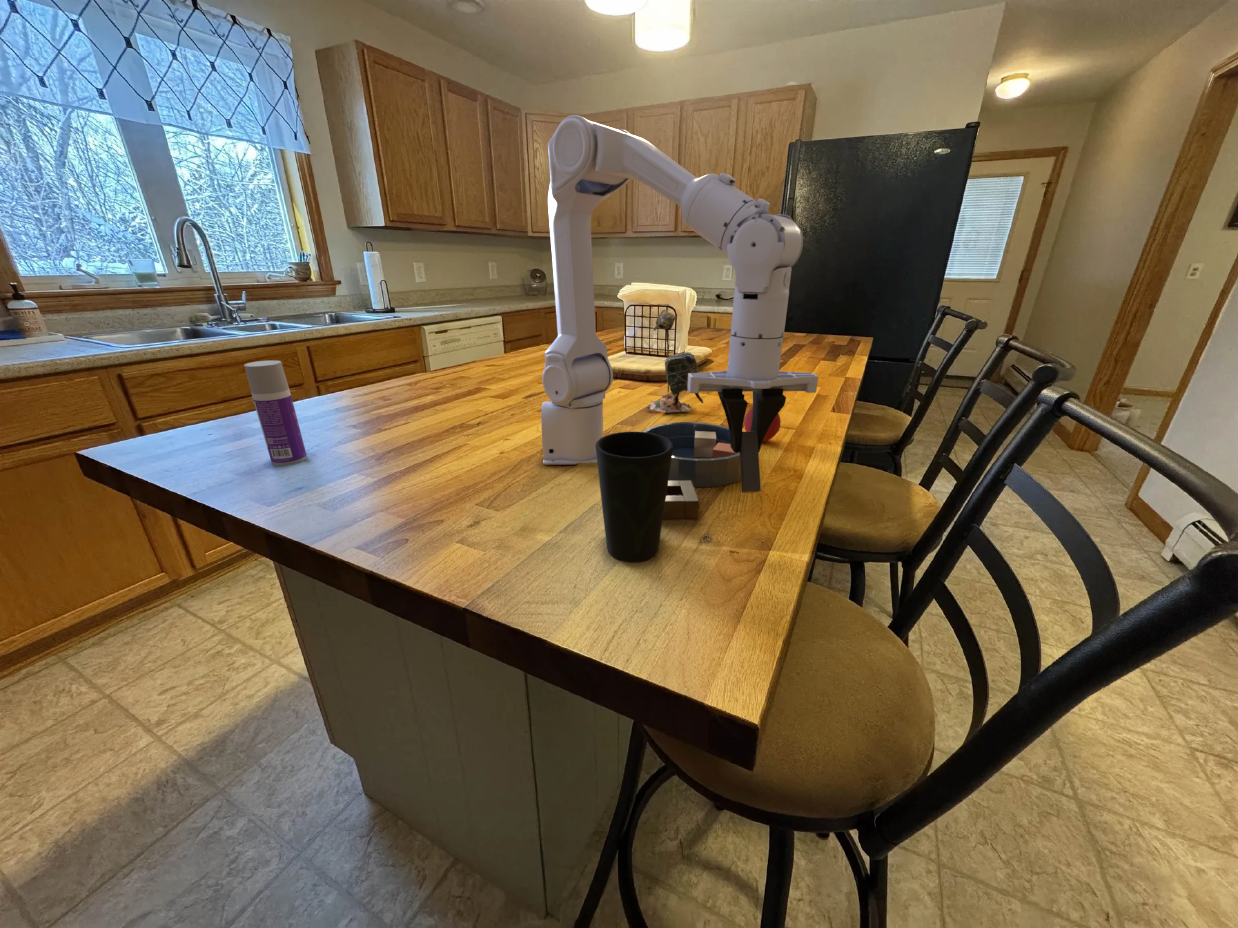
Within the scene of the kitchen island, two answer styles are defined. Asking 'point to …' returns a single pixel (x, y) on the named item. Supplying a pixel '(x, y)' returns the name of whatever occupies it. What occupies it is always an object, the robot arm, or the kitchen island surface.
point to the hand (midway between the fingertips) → (744, 449)
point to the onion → (772, 429)
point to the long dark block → (749, 463)
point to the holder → (681, 501)
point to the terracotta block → (722, 450)
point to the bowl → (698, 468)
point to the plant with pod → (674, 372)
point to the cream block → (704, 444)
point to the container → (276, 412)
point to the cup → (633, 492)
